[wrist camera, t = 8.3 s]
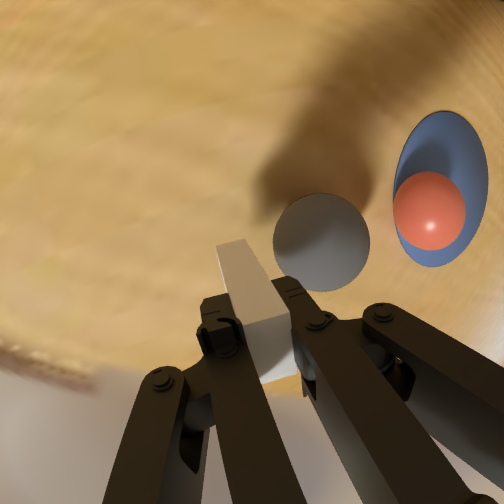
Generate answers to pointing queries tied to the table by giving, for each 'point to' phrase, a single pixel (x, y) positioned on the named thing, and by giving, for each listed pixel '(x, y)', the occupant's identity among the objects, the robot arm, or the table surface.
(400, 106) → the table surface
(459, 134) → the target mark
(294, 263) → the grey ball
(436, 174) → the red ball
